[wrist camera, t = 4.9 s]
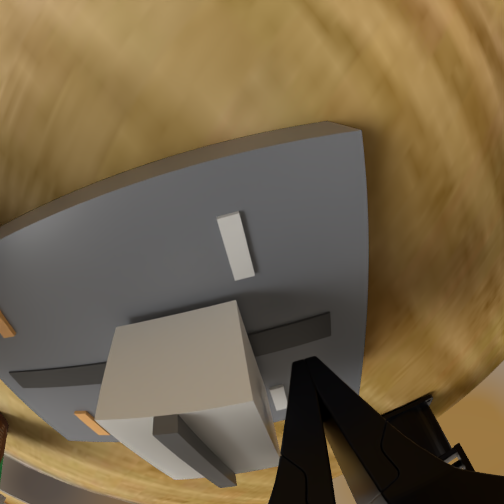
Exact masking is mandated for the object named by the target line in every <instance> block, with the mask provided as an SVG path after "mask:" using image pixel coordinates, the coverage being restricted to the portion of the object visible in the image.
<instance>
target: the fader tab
mask: <svg viewBox="0 0 504 504" xmlns="http://www.w3.org/2000/svg"><path fill="white" fill-rule="evenodd" d="M94 420H95V421H96V422H97V423H98V424H99V425H100V426H102V427H103V428H104V429H105V430H106V431H108V432H109V433H110V434H111V435H112V436H114V437H115V438H116V439H117V440H119V441H120V442H121V443H123V444H124V445H125V446H126V447H128V448H129V449H130V450H132V451H133V452H134V453H136V454H137V455H139V456H140V457H141V458H143V459H144V460H146V461H147V462H148V463H150V464H151V465H153V466H154V467H156V468H157V469H159V470H160V471H162V472H163V473H165V474H166V475H168V476H170V477H171V478H173V479H174V480H179V479H194V478H207V479H208V480H209V481H211V482H212V483H214V484H215V485H217V486H218V487H220V488H224V487H232V486H237V483H236V476H235V474H238V473H244V472H250V471H256V470H261V469H266V468H271V467H276V466H278V465H279V458H280V456H281V454H280V450H279V446H278V441H277V437H276V432H275V428H274V424H273V419H272V415H271V410H270V406H269V401H268V397H267V392H266V388H265V386H264V383H263V380H262V377H261V374H260V371H259V368H258V365H257V362H256V359H255V356H254V353H253V350H252V347H251V344H250V341H249V338H248V335H247V332H246V329H245V326H244V323H243V320H242V317H241V314H240V311H239V308H238V305H237V302H236V300H233V301H229V302H225V303H221V304H217V305H213V306H209V307H205V308H201V309H196V310H192V311H188V312H184V313H179V314H175V315H170V316H166V317H161V318H157V319H152V320H148V321H143V322H138V323H134V324H129V325H124V326H119V327H116V329H115V333H114V337H113V340H112V344H111V348H110V352H109V356H108V359H107V363H106V368H105V372H104V376H103V380H102V385H101V389H100V394H99V399H98V404H97V409H96V414H95V419H94Z"/></svg>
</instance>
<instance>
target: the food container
mask: <svg viewBox="0 0 504 504" xmlns="http://www.w3.org/2000/svg"><path fill="white" fill-rule="evenodd" d="M7 432H8V423H7V421H6V419H5V418H4V417H3V415H2V414H1V413H0V482H1V471H2V464H3V456H4V449H5V443H6V438H7ZM5 499H6V497H4V496H3V495H2V494H0V504H3V503H4V501H5Z"/></svg>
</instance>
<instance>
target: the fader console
mask: <svg viewBox="0 0 504 504" xmlns="http://www.w3.org/2000/svg"><path fill="white" fill-rule="evenodd" d="M368 267H369V237H368V203H367V185H366V171H365V159H364V148H363V139H362V130H359V129H356V128H352V127H348V126H345V125H341V124H337V123H333V122H329V121H324V122H318V123H311V124H306V125H300V126H294V127H289V128H283V129H278V130H273V131H268V132H264V133H259V134H254V135H250V136H246V137H241V138H237V139H233V140H229V141H225V142H221V143H217V144H213V145H209V146H206V147H202V148H198V149H195V150H191V151H188V152H184V153H181V154H177V155H174V156H171V157H168V158H164V159H161V160H158V161H155V162H152V163H149V164H146V165H143V166H140V167H137V168H134V169H131V170H128V171H126V172H123V173H120V174H117V175H115V176H112V177H109V178H107V179H104V180H101V181H99V182H96V183H94V184H91V185H89V186H86V187H84V188H81V189H79V190H76V191H74V192H72V193H69V194H67V195H65V196H62V197H60V198H58V199H56V200H53V201H51V202H49V203H47V204H45V205H42V206H40V207H38V208H36V209H34V210H32V211H30V212H28V213H26V214H24V215H22V216H20V217H18V218H16V219H14V220H12V221H10V222H8V223H6V224H4V225H2V226H1V227H0V379H1V380H2V381H3V382H4V383H5V384H6V385H7V386H8V387H9V388H10V389H11V390H12V391H13V392H14V393H15V394H16V395H17V396H18V397H19V398H20V399H21V400H22V401H23V402H24V403H25V404H26V405H27V406H28V407H29V408H30V409H31V410H32V411H34V412H35V413H36V414H37V415H38V416H39V417H40V418H42V419H43V420H44V421H45V422H46V423H47V424H49V425H50V426H51V427H52V428H53V429H55V430H56V431H57V432H58V433H60V434H61V435H62V436H64V437H65V438H66V439H67V440H69V441H88V442H120V441H119V440H117V439H116V438H115V437H114V436H112V435H111V434H110V433H109V432H108V431H106V430H105V429H104V428H103V427H102V426H100V425H99V424H98V423H97V422H96V421H95V420H94V419H95V414H96V409H97V404H98V399H99V394H100V389H101V385H102V380H103V376H104V372H105V368H106V363H107V359H108V356H109V352H110V348H111V344H112V340H113V337H114V333H115V329H116V327H119V326H124V325H129V324H134V323H138V322H143V321H148V320H152V319H157V318H161V317H166V316H170V315H175V314H179V313H184V312H188V311H192V310H196V309H201V308H205V307H209V306H213V305H217V304H221V303H225V302H229V301H233V300H236V302H237V305H238V308H239V311H240V314H241V317H242V320H243V323H244V326H245V329H246V332H247V335H248V338H249V341H250V344H251V347H252V350H253V353H254V356H255V359H256V362H257V365H258V368H259V371H260V374H261V377H262V380H263V383H264V386H265V388H266V392H267V397H268V401H269V406H270V410H271V415H272V419H273V422H277V421H281V420H285V417H286V410H287V402H288V394H289V385H290V376H291V367H292V363H293V362H294V361H298V360H301V359H305V358H308V357H312V356H317V357H318V358H319V359H320V360H321V361H322V362H323V363H324V364H325V365H326V366H328V367H329V368H330V369H331V370H332V371H333V372H334V373H335V374H336V375H337V376H338V377H339V378H340V379H342V380H343V381H344V382H345V383H346V384H347V385H348V386H349V387H350V388H351V389H352V390H353V391H355V392H356V393H357V394H358V395H359V390H360V382H361V374H362V365H363V356H364V345H365V333H366V319H367V300H368Z"/></svg>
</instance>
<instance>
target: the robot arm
mask: <svg viewBox="0 0 504 504" xmlns="http://www.w3.org/2000/svg"><path fill="white" fill-rule="evenodd" d="M432 400H433V397H432V395H431V394H430V395H428V396H426V397H424V398H422V399H420V400H418V401H416V402H413V403H411V404H409V405H407V406H405V407H403V408H401V409H398V410H396V411H394V412H392V413H389V414H387V415H385V416H381V415H380V414H379V413H378V412H377V411H375V410H374V409H373V408H372V407H371V406H370V405H369V404H368V403H367V402H366V401H364V400H363V399H362V398H361V397H360V396H359V395H358V394H357V393H356V392H355V391H353V390H352V389H351V388H350V387H349V386H348V385H347V384H346V383H345V382H344V381H343V380H342V379H340V378H339V377H338V376H337V375H336V374H335V373H334V372H333V371H332V370H331V369H330V368H329V367H328V366H326V365H325V364H324V363H323V362H322V361H321V360H320V359H319V358H318V357H317V356H312V357H308V358H305V359H301V360H298V361H294V362H293V363H292V367H291V376H290V385H289V394H288V402H287V410H286V417H285V425H284V432H283V439H282V446H281V452H280V454H281V456H280V458H279V465H278V470H277V475H276V480H275V483H274V487H273V490H272V494H271V497H270V500H269V502H268V504H336V502H335V495H334V488H333V482H332V475H331V469H330V462H329V456H328V450H327V444H326V438H325V435H326V437H327V439H328V442H329V444H330V446H331V448H332V450H333V453H334V455H335V457H336V459H337V462H338V464H339V466H340V468H341V470H342V473H343V475H344V477H345V479H346V481H347V484H348V486H349V488H350V490H351V492H352V494H353V497H354V499H355V501H356V503H357V504H504V476H500V475H492V474H486V473H480V472H475V470H474V469H473V467H472V465H471V463H470V461H469V459H468V458H467V456H466V454H465V453H464V451H463V449H462V447H461V446H460V443H458V444H456V445H455V446H454V447H453V448H451V446H450V444H449V442H448V440H447V438H446V437H445V435H444V433H443V431H442V429H441V427H440V425H439V423H438V422H437V420H436V418H435V416H434V414H433V413H432V411H431V409H430V407H429V405H430V403H431V402H432ZM456 457H458V459H459V460H458V461H456V462H455V463H453V464H452V465H450V464H448V462H450V461H451V460H453V459H454V458H456ZM462 468H463V469H462Z"/></svg>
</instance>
